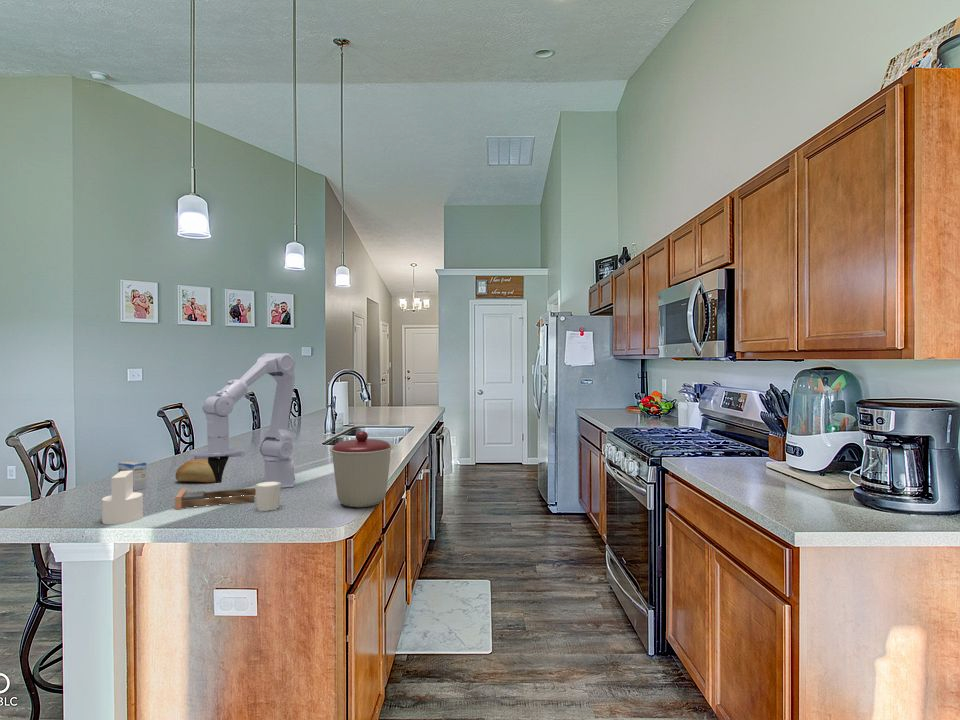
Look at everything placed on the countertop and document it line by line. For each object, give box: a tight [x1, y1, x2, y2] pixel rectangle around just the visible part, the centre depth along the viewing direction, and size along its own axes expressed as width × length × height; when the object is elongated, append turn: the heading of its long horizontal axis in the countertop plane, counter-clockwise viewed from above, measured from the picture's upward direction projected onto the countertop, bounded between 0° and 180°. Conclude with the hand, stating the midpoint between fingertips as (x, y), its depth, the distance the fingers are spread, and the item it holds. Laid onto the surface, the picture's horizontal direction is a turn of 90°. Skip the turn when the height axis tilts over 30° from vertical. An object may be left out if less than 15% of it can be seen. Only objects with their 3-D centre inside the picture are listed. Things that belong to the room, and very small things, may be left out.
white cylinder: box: [254, 481, 281, 512], centre depth 153 cm, size 7×7×7 cm
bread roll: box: [175, 459, 219, 483], centre depth 186 cm, size 10×15×8 cm, turn 90°
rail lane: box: [174, 487, 256, 510], centre depth 160 cm, size 20×11×4 cm, turn 110°
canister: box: [329, 430, 394, 508], centre depth 158 cm, size 18×18×21 cm
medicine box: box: [117, 460, 148, 492], centre depth 176 cm, size 8×4×9 cm, turn 68°
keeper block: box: [183, 490, 206, 501], centre depth 158 cm, size 5×6×3 cm
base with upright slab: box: [101, 470, 144, 525], centre depth 143 cm, size 9×9×12 cm
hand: (218, 482), depth 160 cm, fingers closed
